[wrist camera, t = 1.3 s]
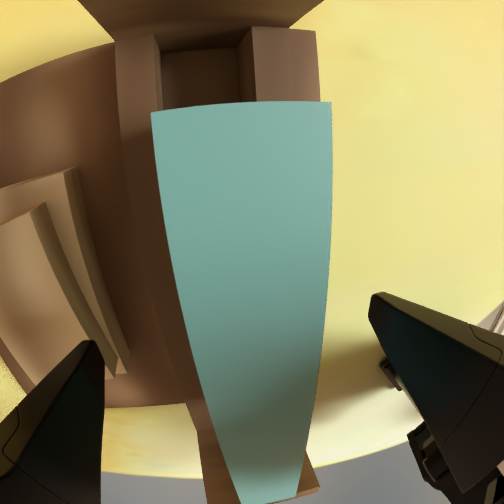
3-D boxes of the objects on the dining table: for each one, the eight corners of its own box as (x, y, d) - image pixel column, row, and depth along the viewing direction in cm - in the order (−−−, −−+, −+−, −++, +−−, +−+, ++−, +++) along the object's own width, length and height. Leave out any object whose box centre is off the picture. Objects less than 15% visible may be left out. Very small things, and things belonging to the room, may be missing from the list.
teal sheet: (228, 117, 11) (330, 101, 3) (247, 349, 16) (295, 496, 8) (178, 122, 11) (151, 112, 3) (212, 355, 16) (242, 507, 8)
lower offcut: (77, 166, 10) (62, 172, 9) (130, 352, 15) (127, 373, 13) (-20, 195, 9) (-38, 205, 8) (43, 357, 14) (36, 375, 12)
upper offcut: (45, 201, 9) (29, 212, 8) (118, 357, 13) (114, 378, 12) (-30, 236, 9) (-46, 249, 7) (44, 369, 12) (37, 387, 11)
